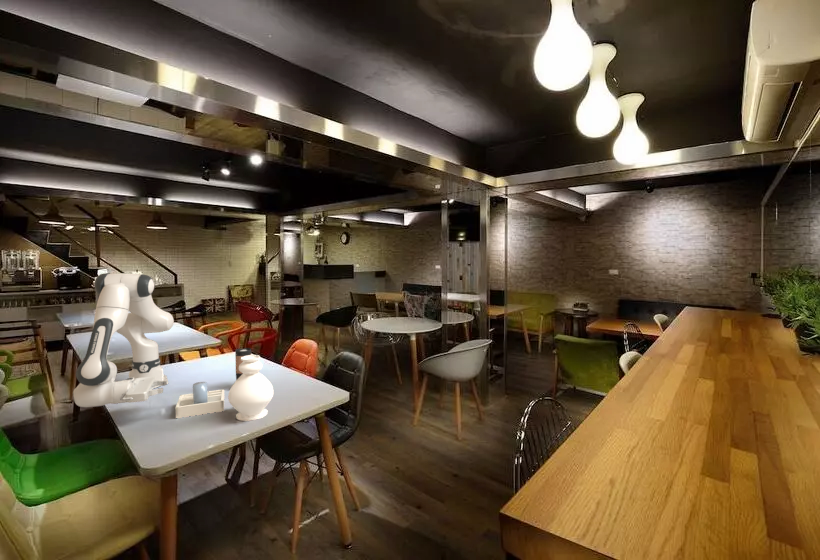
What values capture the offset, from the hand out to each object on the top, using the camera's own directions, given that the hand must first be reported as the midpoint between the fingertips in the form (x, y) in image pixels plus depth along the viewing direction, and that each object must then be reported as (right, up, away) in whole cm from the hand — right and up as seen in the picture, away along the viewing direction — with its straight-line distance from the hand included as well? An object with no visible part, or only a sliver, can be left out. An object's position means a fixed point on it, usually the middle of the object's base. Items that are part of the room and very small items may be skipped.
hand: (164, 386), depth 161 cm
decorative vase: (+37, -13, +1) cm, 39 cm away
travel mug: (+19, -11, +34) cm, 41 cm away
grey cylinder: (+13, -11, +4) cm, 17 cm away
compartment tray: (+11, -12, +8) cm, 18 cm away
